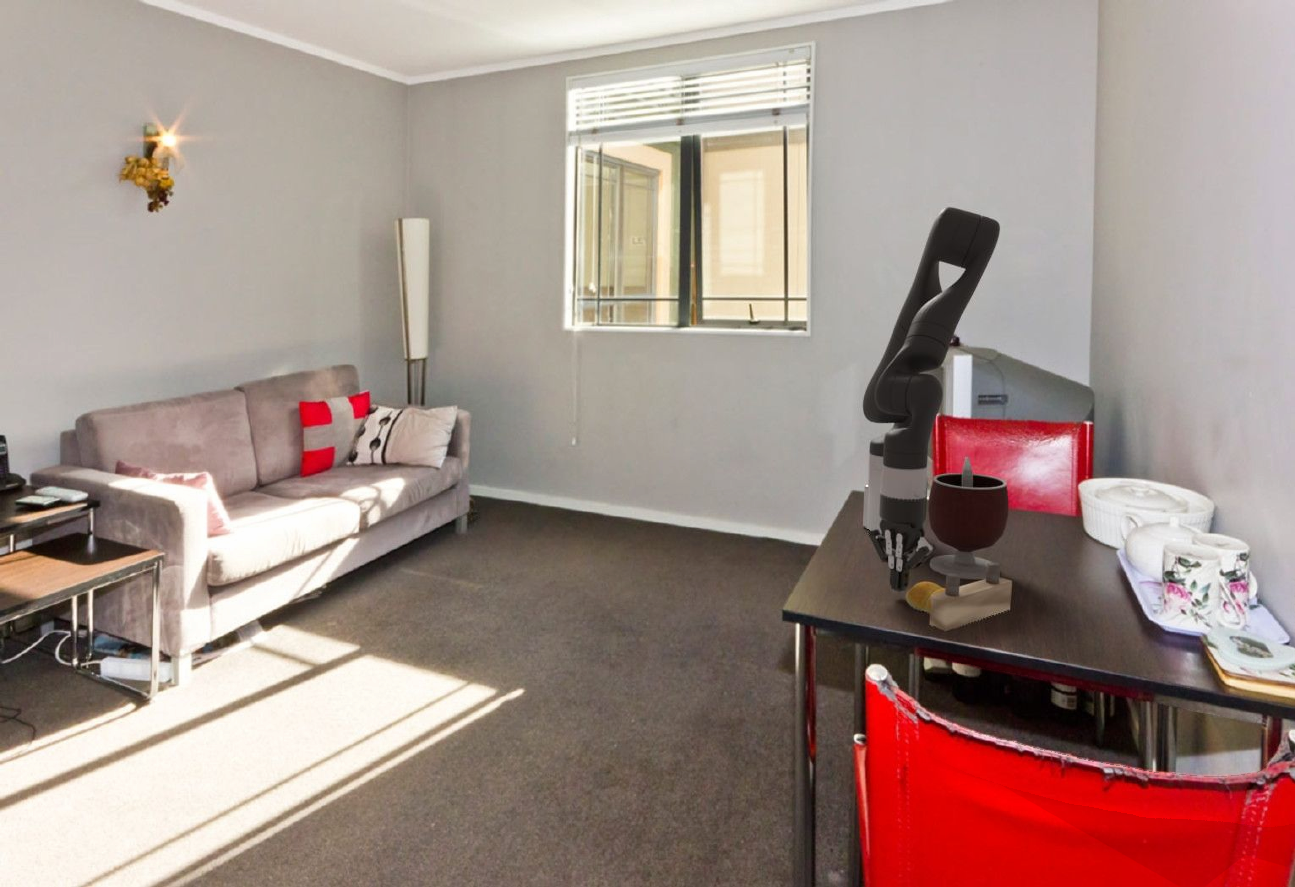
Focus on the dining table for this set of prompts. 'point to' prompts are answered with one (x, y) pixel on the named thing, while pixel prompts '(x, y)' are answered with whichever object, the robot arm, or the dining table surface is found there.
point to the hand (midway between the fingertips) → (898, 589)
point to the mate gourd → (967, 519)
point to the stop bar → (970, 599)
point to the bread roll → (922, 595)
